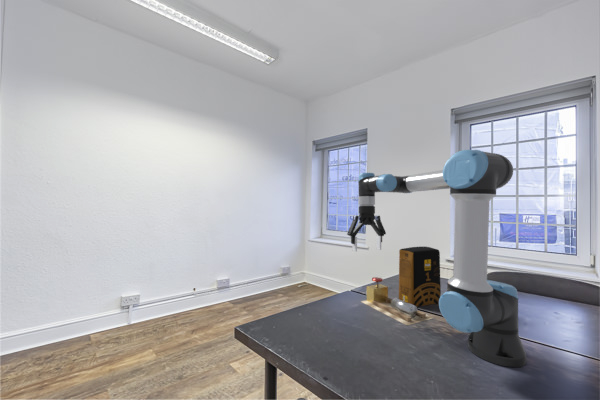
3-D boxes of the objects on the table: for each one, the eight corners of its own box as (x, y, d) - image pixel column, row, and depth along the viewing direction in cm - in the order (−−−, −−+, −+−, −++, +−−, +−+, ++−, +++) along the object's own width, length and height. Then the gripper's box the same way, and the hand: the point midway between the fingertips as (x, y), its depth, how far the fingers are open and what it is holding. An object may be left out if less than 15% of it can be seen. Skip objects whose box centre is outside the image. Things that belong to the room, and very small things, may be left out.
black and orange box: (443, 305, 124) (443, 247, 124) (413, 311, 116) (413, 249, 117) (425, 298, 134) (424, 244, 134) (396, 302, 126) (396, 246, 127)
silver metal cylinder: (417, 317, 107) (417, 304, 107) (408, 318, 105) (409, 305, 105) (398, 308, 116) (399, 297, 116) (390, 309, 114) (391, 298, 114)
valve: (387, 301, 125) (387, 278, 125) (373, 304, 121) (373, 281, 121) (376, 296, 132) (376, 275, 132) (362, 298, 128) (362, 276, 128)
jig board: (434, 321, 106) (434, 314, 106) (407, 329, 99) (407, 321, 99) (385, 299, 131) (384, 293, 131) (360, 304, 124) (360, 298, 124)
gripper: (382, 205, 129) (383, 247, 129) (339, 205, 121) (340, 250, 120) (393, 205, 122) (393, 249, 122) (348, 205, 114) (348, 252, 113)
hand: (367, 250), depth 121 cm, fingers open, 13 cm apart
